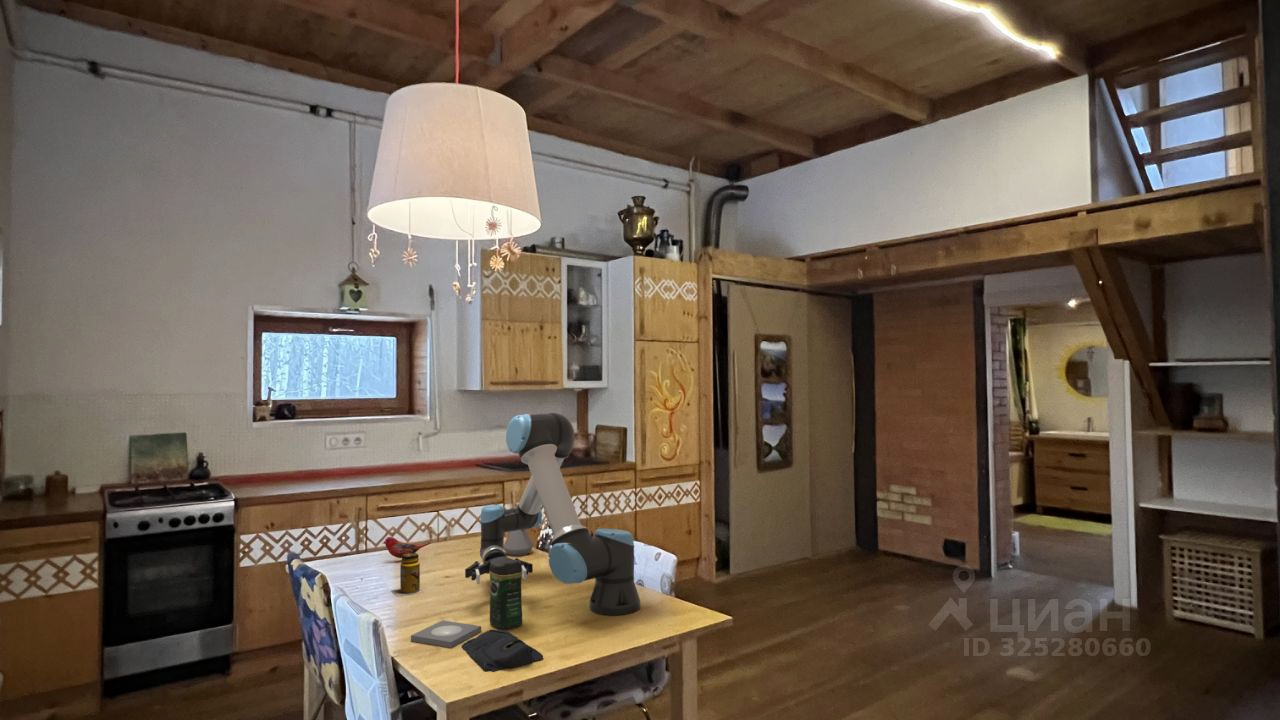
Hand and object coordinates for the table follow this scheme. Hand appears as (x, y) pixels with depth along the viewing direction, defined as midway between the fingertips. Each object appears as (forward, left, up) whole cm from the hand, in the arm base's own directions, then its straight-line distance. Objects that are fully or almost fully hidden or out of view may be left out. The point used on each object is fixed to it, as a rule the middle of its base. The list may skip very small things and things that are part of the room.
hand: (502, 577), depth 215 cm
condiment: (+42, -8, -11) cm, 44 cm away
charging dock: (+3, +21, -11) cm, 24 cm away
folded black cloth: (-17, +26, -11) cm, 33 cm away
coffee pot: (+32, -63, -11) cm, 71 cm away
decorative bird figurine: (+69, -39, -11) cm, 79 cm away
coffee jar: (-6, +7, -11) cm, 15 cm away
